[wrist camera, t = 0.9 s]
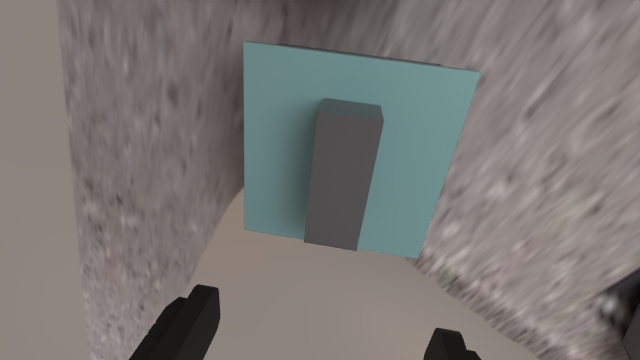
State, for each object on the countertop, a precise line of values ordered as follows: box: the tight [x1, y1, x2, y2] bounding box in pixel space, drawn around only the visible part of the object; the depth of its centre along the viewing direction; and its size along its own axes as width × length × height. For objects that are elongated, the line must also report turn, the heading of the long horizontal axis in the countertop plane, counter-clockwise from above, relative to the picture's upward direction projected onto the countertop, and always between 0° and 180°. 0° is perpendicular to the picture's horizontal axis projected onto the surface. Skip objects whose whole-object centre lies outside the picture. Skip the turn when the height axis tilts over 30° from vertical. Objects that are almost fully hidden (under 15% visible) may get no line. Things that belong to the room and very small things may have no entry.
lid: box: [243, 41, 481, 259], centre depth 23 cm, size 16×16×6 cm
